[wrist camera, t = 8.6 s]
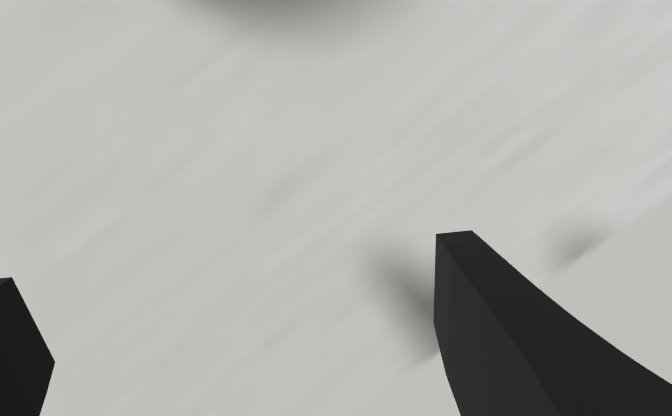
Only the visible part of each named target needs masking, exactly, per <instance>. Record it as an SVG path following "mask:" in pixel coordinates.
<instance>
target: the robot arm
mask: <svg viewBox="0 0 672 416" xmlns="http://www.w3.org/2000/svg"><path fill="white" fill-rule="evenodd" d="M434 326H435V330H436V335H437V339H438V343H439V347H440V352H441V356H442V360H443V363H444V368H445V372H446V375H447V378H448V381H449V384H450V387H451V390H452V392H453V395H454V398H455V400H456V403H457V406H458V409H459V412H460V414H461V416H672V384H670V383H669V382H667V381H665V380H664V379H662V378H661V377H659V376H658V375H656V374H654V373H653V372H651V371H650V370H648V369H646V368H645V367H643V366H642V365H640V364H639V363H637V362H636V361H634V360H633V359H631V358H630V357H628V356H627V355H626V354H624V353H623V352H621V351H620V350H618V349H617V348H615V347H614V346H613V345H611V344H610V343H608V342H607V341H606V340H604V339H603V338H602V337H600V336H599V335H597V334H596V333H595V332H593V331H592V330H591V329H589V328H588V327H587V326H585V325H584V324H582V323H581V322H580V321H578V320H577V319H576V318H575V317H573V316H572V315H570V314H569V313H568V312H567V311H565V310H564V309H563V308H562V307H561V306H559V305H558V304H557V303H556V302H554V301H553V300H552V299H551V298H549V297H548V296H547V295H546V294H544V293H543V292H542V291H541V290H540V289H538V288H537V287H536V286H535V285H534V284H532V283H531V282H530V281H529V280H528V279H527V278H525V277H524V276H523V275H522V274H521V273H520V272H519V271H517V270H516V269H515V268H514V267H513V266H512V265H510V264H509V263H508V262H507V261H506V260H505V259H504V258H502V257H501V256H500V255H499V254H498V253H497V252H496V251H495V250H493V249H492V248H491V247H490V246H489V245H488V244H487V243H486V242H484V241H483V240H482V239H481V238H480V237H479V236H477V235H476V234H475V233H474V232H473V231H472V230H471V231H461V232H451V233H441V234H436V256H435V292H434ZM54 364H55V361H54V359H53V357H52V355H51V353H50V351H49V349H48V347H47V345H46V343H45V341H44V339H43V337H42V336H41V334H40V332H39V330H38V328H37V326H36V324H35V322H34V320H33V318H32V316H31V314H30V312H29V310H28V308H27V306H26V304H25V302H24V300H23V298H22V297H21V295H20V292H19V290H18V288H17V286H16V285H15V283H14V281H13V279H12V277H10V278H0V416H39V415H40V412H41V408H42V406H43V403H44V399H45V396H46V393H47V390H48V386H49V382H50V379H51V375H52V371H53V368H54Z"/></svg>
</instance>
